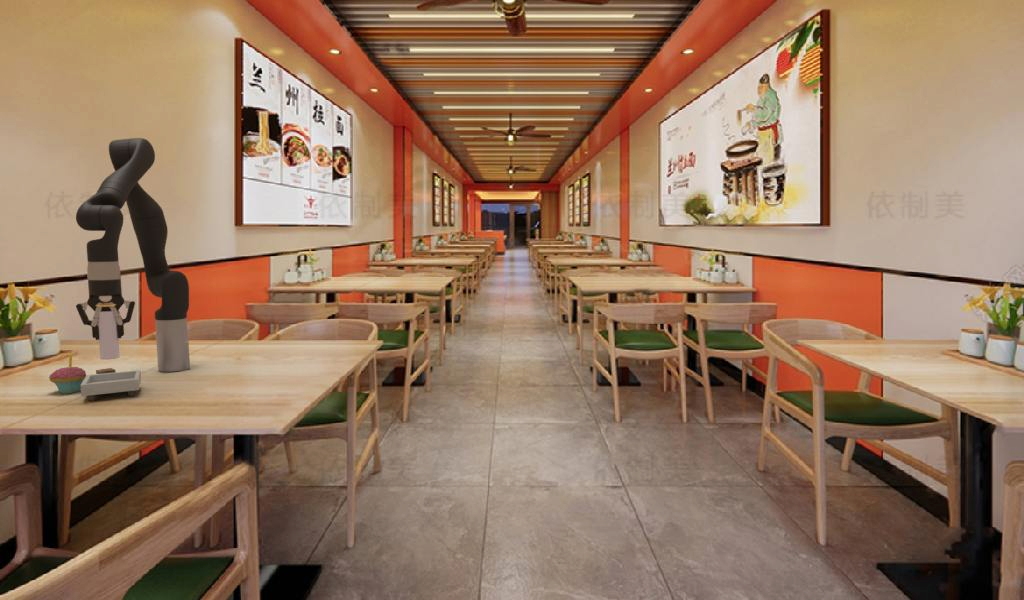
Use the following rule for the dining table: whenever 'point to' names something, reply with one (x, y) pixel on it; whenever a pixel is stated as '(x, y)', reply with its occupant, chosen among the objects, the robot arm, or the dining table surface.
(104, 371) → the walnut block
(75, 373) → the cupcake
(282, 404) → the dining table surface
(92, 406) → the dining table surface
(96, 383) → the cart
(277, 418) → the dining table surface
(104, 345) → the perfume bottle
